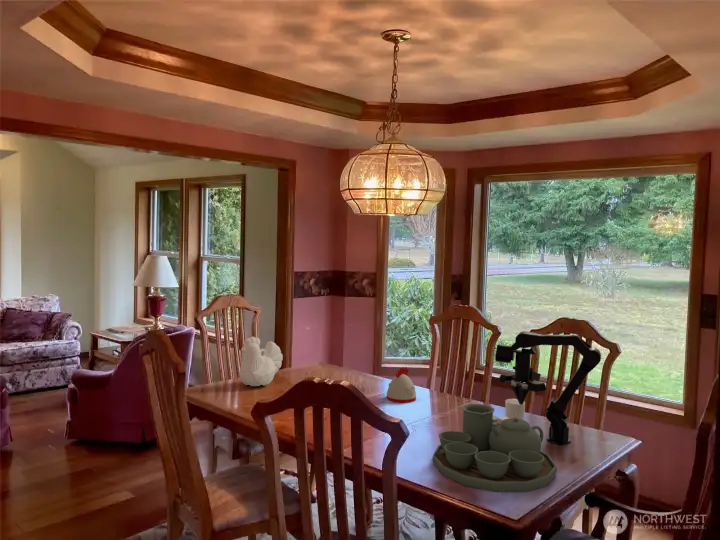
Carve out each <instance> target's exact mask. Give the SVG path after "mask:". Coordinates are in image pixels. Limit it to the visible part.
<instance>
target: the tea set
mask: <svg viewBox="0 0 720 540" xmlns="http://www.w3.org/2000/svg"><path fill="white" fill-rule="evenodd" d="M461 408H462V411H463V413H462V414H463V415H462V416H463V417H462V431H457V430H456V431H455V430H447V431H446V430H445V431H442V432H440V433H439V435H438V439H439V441H440V444H439V445H437V447H436V449H435V451H434V453H433V455H432V462H433V465H434V466H435V467H436V468H437V470H438V471H439V472H440V474H441V475H442V476H444V477H446V478H449V479H450V480H452V481H454V482H457V483H459V484H462V485H463V486H465V487H470V488H471V487H472V488H477V489H482V490H487V491H492V492H528V491H529V492H530V491H533V490H536V489H539V488H543V487H547V486H548V485H549V484H550V483H551V481H552V480H553V478H554V477H555V475H556V474H557V470H558V469H557V468H558V467H557V464H556V463H555V461H554V460H553V459H552V458H551V456H550V455H549V454H547V453H545V452H543V451H541V450H542V443H543V440H544V434H545V433H544V430H543V429H542V428H541V427H540V426H538V425H533V426H532V427H531V424H530V423H529V422H528V421H526V420H521V419H518V418H509V419H505V420H503V421H502V422H501V423H502V424H500V425H498V426H497V427H493V429H492V422H493V415H494V412H495V410H496V409H495V408H494V407H492V406H490V405H487V404H483V403H482V404H481V403H467V404H464V405H462V406H461ZM536 430H538V432H539V433H538V432H537V431H536Z"/></svg>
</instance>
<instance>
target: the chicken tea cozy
mask: <svg viewBox="0 0 720 540" xmlns="http://www.w3.org/2000/svg"><path fill="white" fill-rule="evenodd" d="M409 372H410V370H409V368H407V366H402V367H400V368H399V370H397V372H396V373H395V376H394V377H393V378H392V380H391V381H390V382H389V383H388V388H387V391H386V398H387V399H388V400H387V399H386V398H385V399H386V400H387V401H389V402H391V401H392V403H399V404H408V403H413V402H414V403H415V402H416V401H417V394H416V393H417V392H416V386H415V385H414V383H413V381H412V380H411V378H410V377H409V376H408V374H409Z"/></svg>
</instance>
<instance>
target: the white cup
mask: <svg viewBox="0 0 720 540" xmlns="http://www.w3.org/2000/svg"><path fill="white" fill-rule="evenodd" d="M504 401H505V403H504V404H505V406H504V407H505V412H504V413H505V417H507V418H518V419H521V420H524V419H525V409H526V402H525V400H524V402H523V404H519V402H518V399H517V398H508V399H505V400H504ZM524 421H525V420H524Z"/></svg>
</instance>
